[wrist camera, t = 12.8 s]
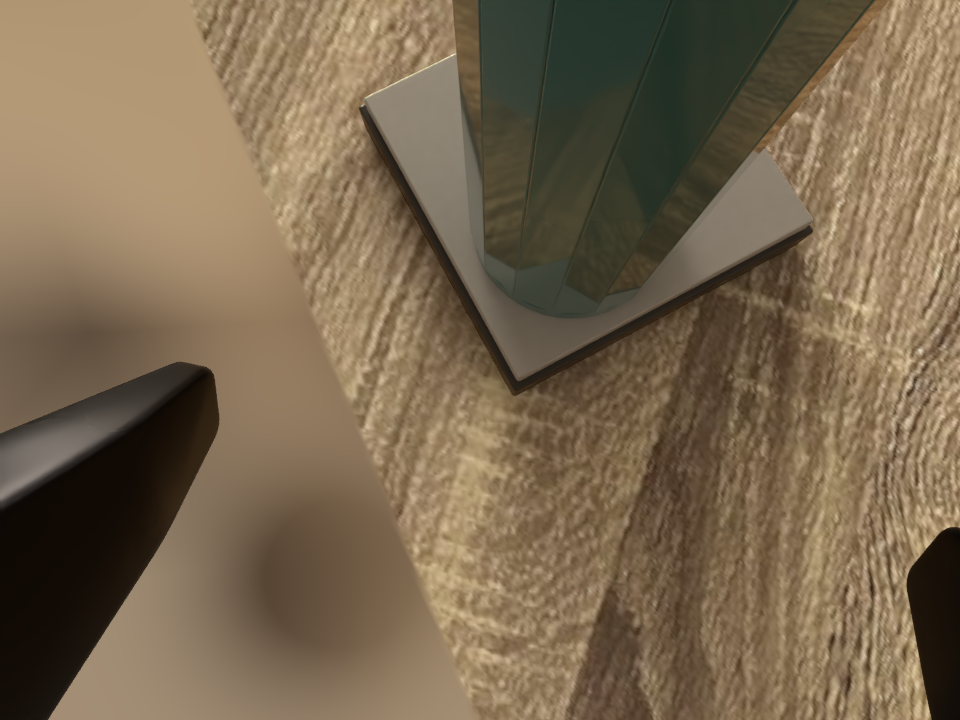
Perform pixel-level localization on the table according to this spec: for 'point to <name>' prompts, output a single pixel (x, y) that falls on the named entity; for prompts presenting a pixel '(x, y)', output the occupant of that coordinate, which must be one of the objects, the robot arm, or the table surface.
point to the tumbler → (622, 128)
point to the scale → (500, 320)
